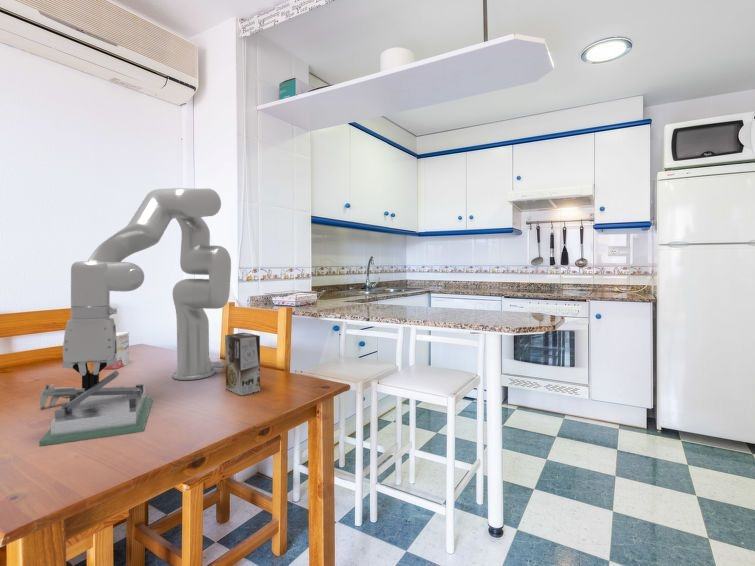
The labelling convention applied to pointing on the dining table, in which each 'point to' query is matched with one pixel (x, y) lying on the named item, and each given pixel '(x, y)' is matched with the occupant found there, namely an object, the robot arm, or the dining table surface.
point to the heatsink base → (99, 417)
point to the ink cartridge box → (121, 350)
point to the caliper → (56, 394)
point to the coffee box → (242, 363)
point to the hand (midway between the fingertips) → (90, 390)
